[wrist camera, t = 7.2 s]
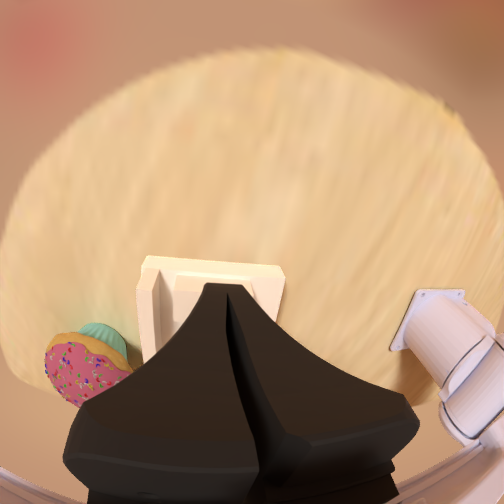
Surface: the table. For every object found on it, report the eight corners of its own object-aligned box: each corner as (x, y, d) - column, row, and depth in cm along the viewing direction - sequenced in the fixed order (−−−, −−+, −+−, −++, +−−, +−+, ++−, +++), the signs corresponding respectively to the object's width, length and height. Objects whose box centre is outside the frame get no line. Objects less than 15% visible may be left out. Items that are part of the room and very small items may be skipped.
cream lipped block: (279, 265, 21) (296, 299, 17) (254, 379, 26) (261, 417, 22) (147, 255, 19) (130, 288, 15) (155, 374, 24) (149, 412, 20)
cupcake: (149, 321, 22) (122, 446, 11) (141, 381, 25) (126, 484, 14) (61, 294, 20) (-4, 394, 9) (67, 358, 23) (31, 449, 12)
